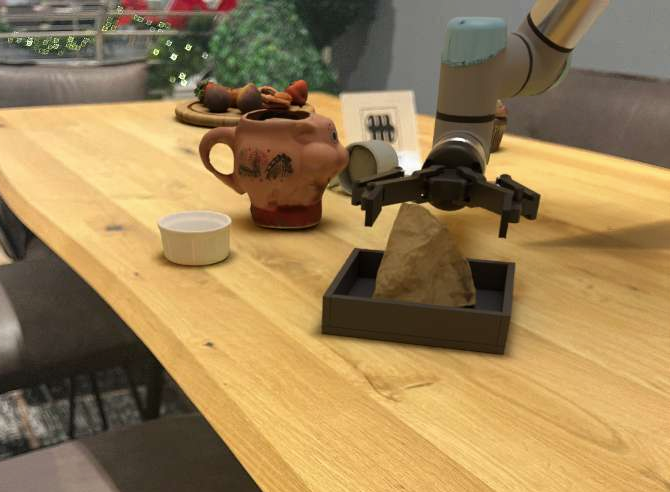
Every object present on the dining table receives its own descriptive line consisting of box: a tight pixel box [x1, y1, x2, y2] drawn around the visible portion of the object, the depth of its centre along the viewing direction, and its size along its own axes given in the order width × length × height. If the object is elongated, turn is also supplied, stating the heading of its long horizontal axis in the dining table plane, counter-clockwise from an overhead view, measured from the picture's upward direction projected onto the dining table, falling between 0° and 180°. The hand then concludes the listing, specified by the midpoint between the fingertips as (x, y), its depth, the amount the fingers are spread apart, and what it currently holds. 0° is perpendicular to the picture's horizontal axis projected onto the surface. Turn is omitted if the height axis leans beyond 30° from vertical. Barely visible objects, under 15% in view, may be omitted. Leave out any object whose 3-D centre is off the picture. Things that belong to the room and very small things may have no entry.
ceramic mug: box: [328, 139, 400, 196], centre depth 119 cm, size 11×8×8 cm
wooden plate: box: [174, 78, 316, 128], centre depth 173 cm, size 32×32×8 cm
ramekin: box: [157, 210, 232, 267], centre depth 93 cm, size 9×9×4 cm
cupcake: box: [490, 99, 509, 153], centre depth 147 cm, size 10×10×10 cm
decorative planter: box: [198, 109, 349, 229], centre depth 102 cm, size 20×12×14 cm, turn 91°
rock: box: [372, 202, 476, 307], centre depth 77 cm, size 11×9×10 cm
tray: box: [321, 247, 516, 355], centre depth 78 cm, size 18×16×4 cm
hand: (435, 218), depth 77 cm, fingers open, 13 cm apart
